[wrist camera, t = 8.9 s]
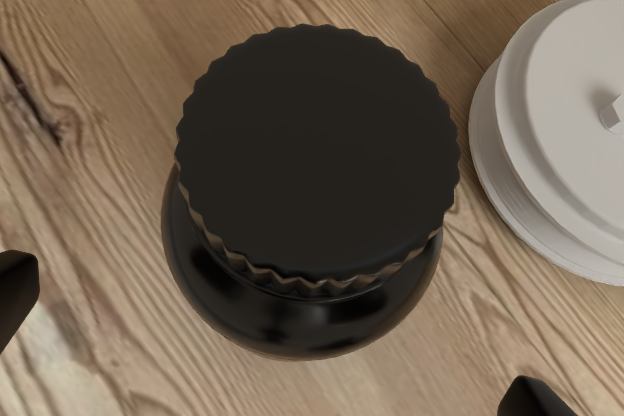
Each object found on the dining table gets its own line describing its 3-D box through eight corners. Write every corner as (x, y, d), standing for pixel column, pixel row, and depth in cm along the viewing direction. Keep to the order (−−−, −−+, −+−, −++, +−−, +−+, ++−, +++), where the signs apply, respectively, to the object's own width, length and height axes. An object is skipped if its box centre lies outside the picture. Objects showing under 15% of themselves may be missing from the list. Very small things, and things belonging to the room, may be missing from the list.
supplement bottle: (402, 309, 19) (610, 239, 7) (251, 394, 17) (213, 473, 6) (323, 169, 20) (393, -68, 9) (179, 236, 19) (38, 54, 7)
